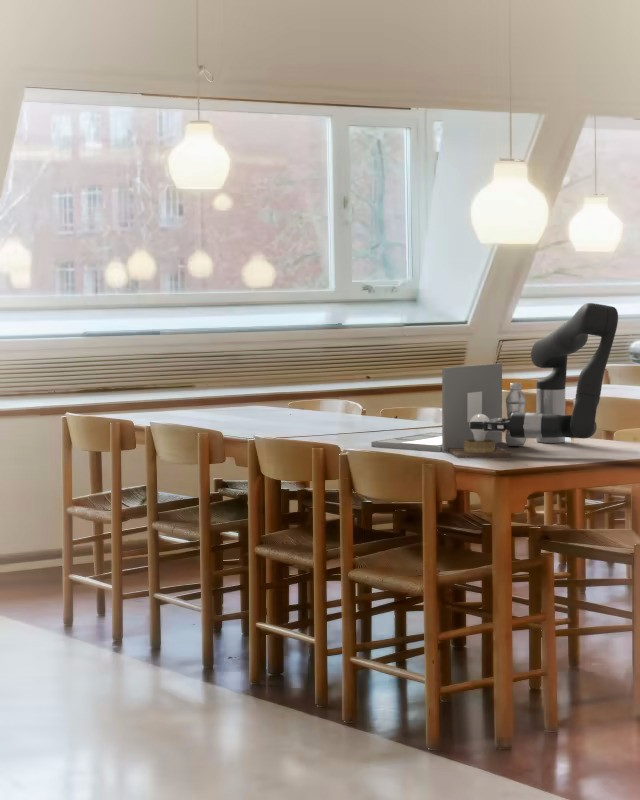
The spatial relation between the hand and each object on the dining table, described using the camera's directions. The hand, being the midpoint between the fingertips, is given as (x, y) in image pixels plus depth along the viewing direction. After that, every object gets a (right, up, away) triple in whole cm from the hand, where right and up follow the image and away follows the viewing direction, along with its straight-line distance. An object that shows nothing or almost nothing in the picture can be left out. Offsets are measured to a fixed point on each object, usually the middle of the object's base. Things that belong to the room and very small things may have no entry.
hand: (473, 424), depth 391 cm
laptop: (-8, -8, +28) cm, 30 cm away
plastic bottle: (+16, -8, +20) cm, 26 cm away
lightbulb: (+2, -8, +1) cm, 8 cm away
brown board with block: (+2, -9, 0) cm, 9 cm away
